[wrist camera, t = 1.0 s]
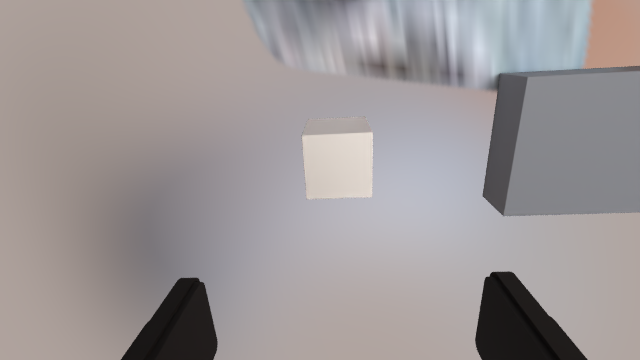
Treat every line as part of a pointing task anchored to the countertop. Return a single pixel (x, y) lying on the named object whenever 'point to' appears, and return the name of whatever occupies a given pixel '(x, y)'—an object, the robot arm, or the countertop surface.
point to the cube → (338, 158)
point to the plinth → (566, 143)
